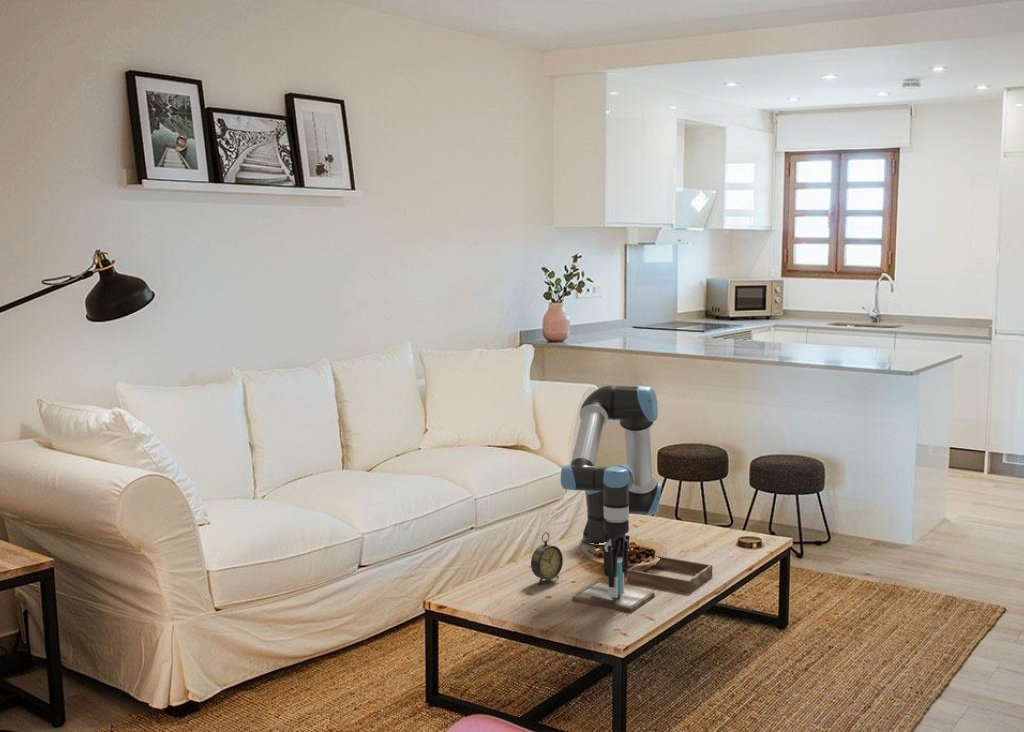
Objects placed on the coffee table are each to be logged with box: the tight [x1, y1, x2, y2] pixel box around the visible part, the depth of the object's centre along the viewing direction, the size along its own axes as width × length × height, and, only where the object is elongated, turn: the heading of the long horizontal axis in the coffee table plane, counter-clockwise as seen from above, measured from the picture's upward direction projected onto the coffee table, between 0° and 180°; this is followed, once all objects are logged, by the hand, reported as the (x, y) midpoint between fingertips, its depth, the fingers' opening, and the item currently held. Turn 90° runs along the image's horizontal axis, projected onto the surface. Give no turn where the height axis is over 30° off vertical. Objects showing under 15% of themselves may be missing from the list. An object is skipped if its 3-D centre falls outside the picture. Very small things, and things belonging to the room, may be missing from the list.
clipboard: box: [572, 581, 656, 613], centre depth 319 cm, size 16×20×2 cm
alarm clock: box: [530, 531, 564, 586], centre depth 335 cm, size 11×5×16 cm, turn 133°
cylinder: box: [611, 556, 622, 600], centre depth 313 cm, size 4×4×12 cm
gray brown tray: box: [626, 555, 713, 593], centre depth 337 cm, size 19×22×4 cm
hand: (616, 594), depth 314 cm, fingers closed on cylinder, 3 cm apart
